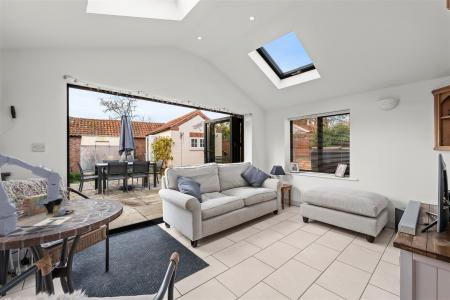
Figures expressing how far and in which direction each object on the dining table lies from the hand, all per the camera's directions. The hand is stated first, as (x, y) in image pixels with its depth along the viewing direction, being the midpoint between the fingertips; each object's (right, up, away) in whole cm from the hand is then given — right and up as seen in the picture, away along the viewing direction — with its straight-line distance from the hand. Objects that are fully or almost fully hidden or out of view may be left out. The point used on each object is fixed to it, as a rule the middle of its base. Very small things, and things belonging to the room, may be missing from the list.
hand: (53, 211), depth 121 cm
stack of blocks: (-28, -7, +23) cm, 37 cm away
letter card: (0, -6, 0) cm, 6 cm away
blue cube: (-6, -7, +12) cm, 15 cm away
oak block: (0, -1, 0) cm, 1 cm away
